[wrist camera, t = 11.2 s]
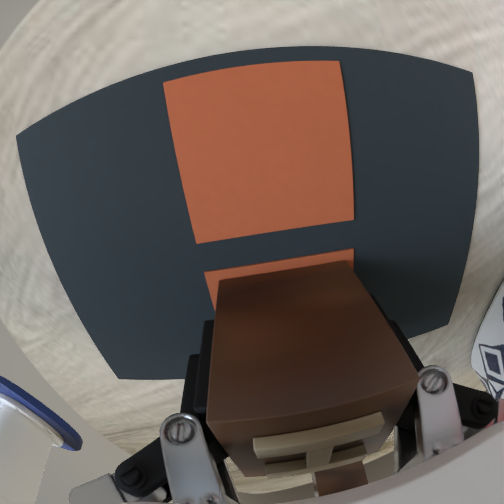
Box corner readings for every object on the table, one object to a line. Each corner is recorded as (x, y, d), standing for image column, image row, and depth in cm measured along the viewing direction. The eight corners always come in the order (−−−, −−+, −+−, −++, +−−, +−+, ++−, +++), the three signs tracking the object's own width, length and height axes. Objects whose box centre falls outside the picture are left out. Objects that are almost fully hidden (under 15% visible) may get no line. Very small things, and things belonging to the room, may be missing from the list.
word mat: (120, 374, 14) (118, 380, 13) (21, 134, 7) (14, 136, 7) (444, 320, 13) (448, 325, 13) (467, 72, 7) (473, 72, 6)
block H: (241, 363, 13) (244, 486, 7) (218, 279, 10) (203, 438, 5) (340, 346, 12) (381, 459, 7) (345, 259, 10) (428, 390, 4)
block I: (310, 469, 23) (318, 513, 17) (311, 458, 21) (321, 509, 15) (351, 460, 23) (362, 502, 17) (358, 446, 21) (371, 495, 15)
